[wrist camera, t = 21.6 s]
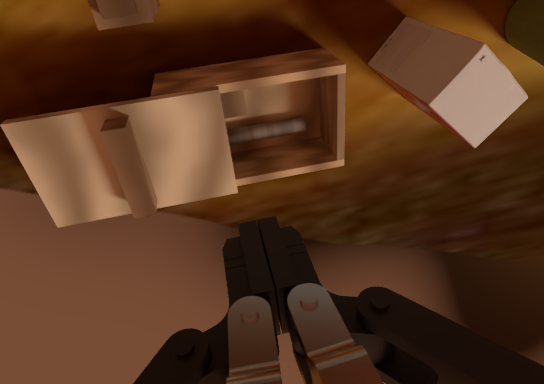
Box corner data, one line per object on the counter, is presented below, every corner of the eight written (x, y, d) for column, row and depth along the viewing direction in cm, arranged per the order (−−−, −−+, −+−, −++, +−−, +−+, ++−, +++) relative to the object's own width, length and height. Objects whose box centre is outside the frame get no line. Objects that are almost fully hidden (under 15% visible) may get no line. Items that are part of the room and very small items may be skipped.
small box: (365, 64, 42) (426, 105, 31) (405, 14, 40) (486, 40, 29) (407, 102, 46) (475, 150, 35) (447, 59, 44) (532, 96, 33)
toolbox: (180, 165, 44) (180, 196, 39) (155, 73, 38) (150, 95, 32) (324, 138, 46) (344, 165, 41) (323, 47, 40) (346, 64, 34)
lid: (60, 221, 37) (50, 244, 34) (4, 120, 31) (-14, 138, 28) (236, 187, 39) (241, 206, 36) (218, 85, 33) (221, 99, 30)
